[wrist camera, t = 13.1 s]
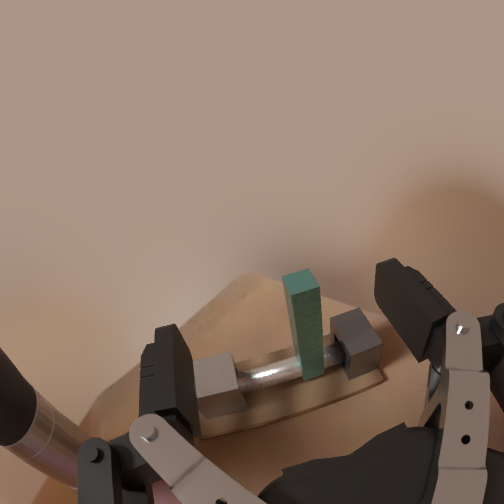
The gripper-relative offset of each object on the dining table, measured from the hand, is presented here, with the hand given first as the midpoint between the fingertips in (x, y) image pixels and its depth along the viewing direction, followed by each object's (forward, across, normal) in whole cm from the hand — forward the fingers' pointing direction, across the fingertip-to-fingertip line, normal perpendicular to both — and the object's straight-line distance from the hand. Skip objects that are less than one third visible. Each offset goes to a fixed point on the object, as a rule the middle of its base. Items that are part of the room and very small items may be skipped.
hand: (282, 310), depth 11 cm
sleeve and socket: (+15, -1, +29) cm, 33 cm away
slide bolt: (+15, -3, +28) cm, 32 cm away
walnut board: (+15, -1, +30) cm, 34 cm away
